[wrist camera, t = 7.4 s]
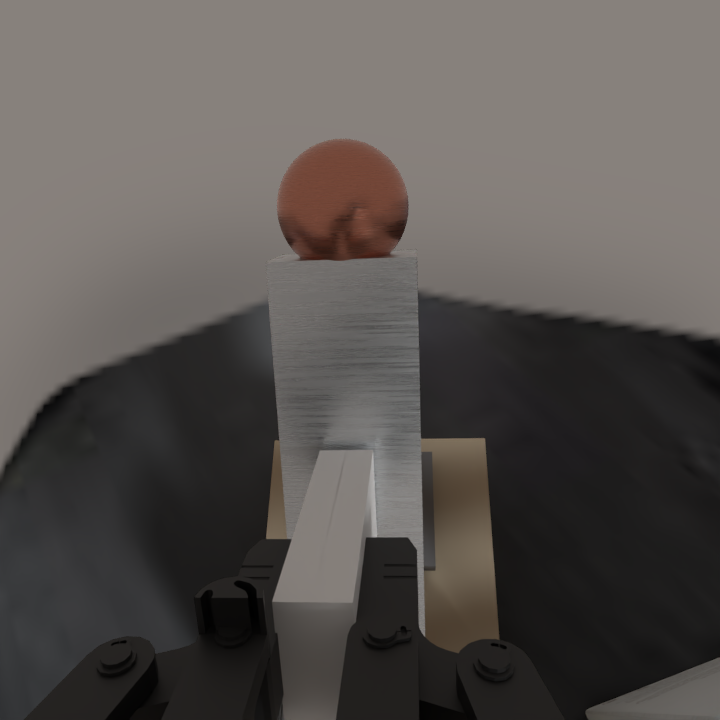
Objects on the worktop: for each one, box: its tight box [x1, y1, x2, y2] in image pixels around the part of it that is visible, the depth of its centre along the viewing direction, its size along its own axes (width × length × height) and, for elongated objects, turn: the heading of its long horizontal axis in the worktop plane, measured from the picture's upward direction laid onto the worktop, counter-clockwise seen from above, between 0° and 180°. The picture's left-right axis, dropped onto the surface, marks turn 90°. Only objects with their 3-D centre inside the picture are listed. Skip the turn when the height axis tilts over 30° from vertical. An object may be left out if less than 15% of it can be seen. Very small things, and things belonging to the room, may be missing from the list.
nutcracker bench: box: [266, 438, 499, 653], centre depth 25 cm, size 18×10×10 cm, turn 179°
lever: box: [266, 139, 425, 720], centre depth 21 cm, size 5×6×19 cm
